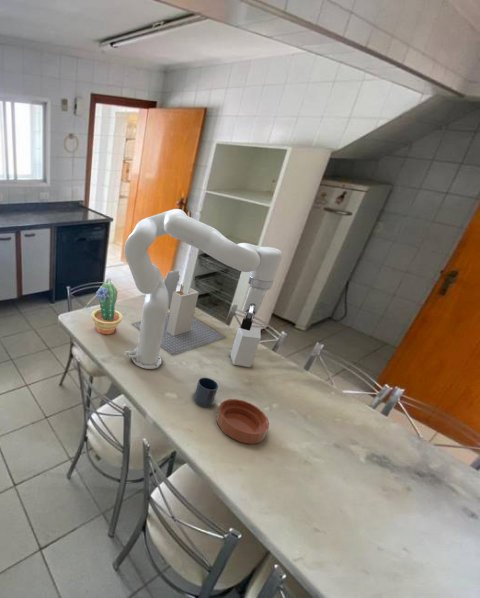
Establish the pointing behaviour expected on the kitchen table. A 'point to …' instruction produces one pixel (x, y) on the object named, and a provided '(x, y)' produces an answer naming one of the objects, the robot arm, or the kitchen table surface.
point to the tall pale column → (171, 283)
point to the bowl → (242, 421)
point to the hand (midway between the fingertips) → (246, 323)
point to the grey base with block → (184, 325)
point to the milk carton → (245, 346)
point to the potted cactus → (106, 309)
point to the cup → (205, 392)
